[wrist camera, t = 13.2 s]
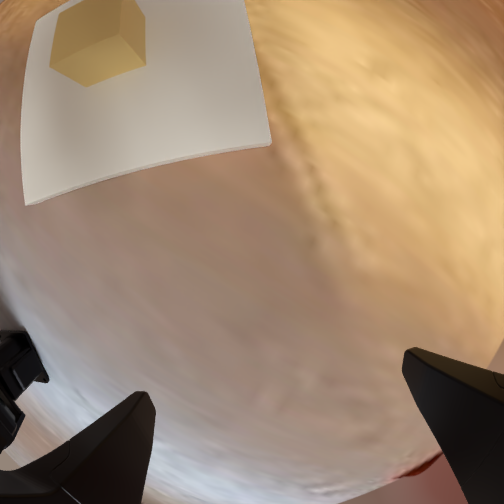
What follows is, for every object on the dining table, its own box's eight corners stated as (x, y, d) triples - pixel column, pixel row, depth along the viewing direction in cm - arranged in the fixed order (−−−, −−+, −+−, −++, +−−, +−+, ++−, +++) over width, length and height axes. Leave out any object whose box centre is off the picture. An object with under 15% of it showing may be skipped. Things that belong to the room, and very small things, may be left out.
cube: (86, 87, 15) (49, 67, 10) (89, 39, 14) (58, 13, 9) (146, 65, 15) (119, 33, 10) (145, 17, 14) (123, -17, 9)
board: (35, 203, 18) (25, 205, 16) (43, 25, 13) (36, 20, 12) (269, 145, 18) (271, 142, 16) (232, -40, 13) (231, -49, 12)
